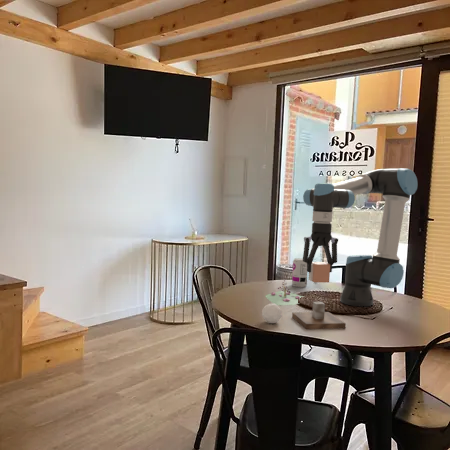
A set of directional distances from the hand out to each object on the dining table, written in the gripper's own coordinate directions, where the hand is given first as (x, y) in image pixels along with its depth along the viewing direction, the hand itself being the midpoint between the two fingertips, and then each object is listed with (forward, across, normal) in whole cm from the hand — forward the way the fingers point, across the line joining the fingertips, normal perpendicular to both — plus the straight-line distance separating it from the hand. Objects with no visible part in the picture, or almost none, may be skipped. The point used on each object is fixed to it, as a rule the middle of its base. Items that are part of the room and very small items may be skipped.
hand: (318, 280), depth 177 cm
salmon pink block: (0, 0, 0) cm, 0 cm away
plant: (+18, -1, +38) cm, 42 cm away
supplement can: (+17, +16, +68) cm, 72 cm away
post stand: (+17, 0, 0) cm, 17 cm away
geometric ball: (+17, -19, 0) cm, 25 cm away
